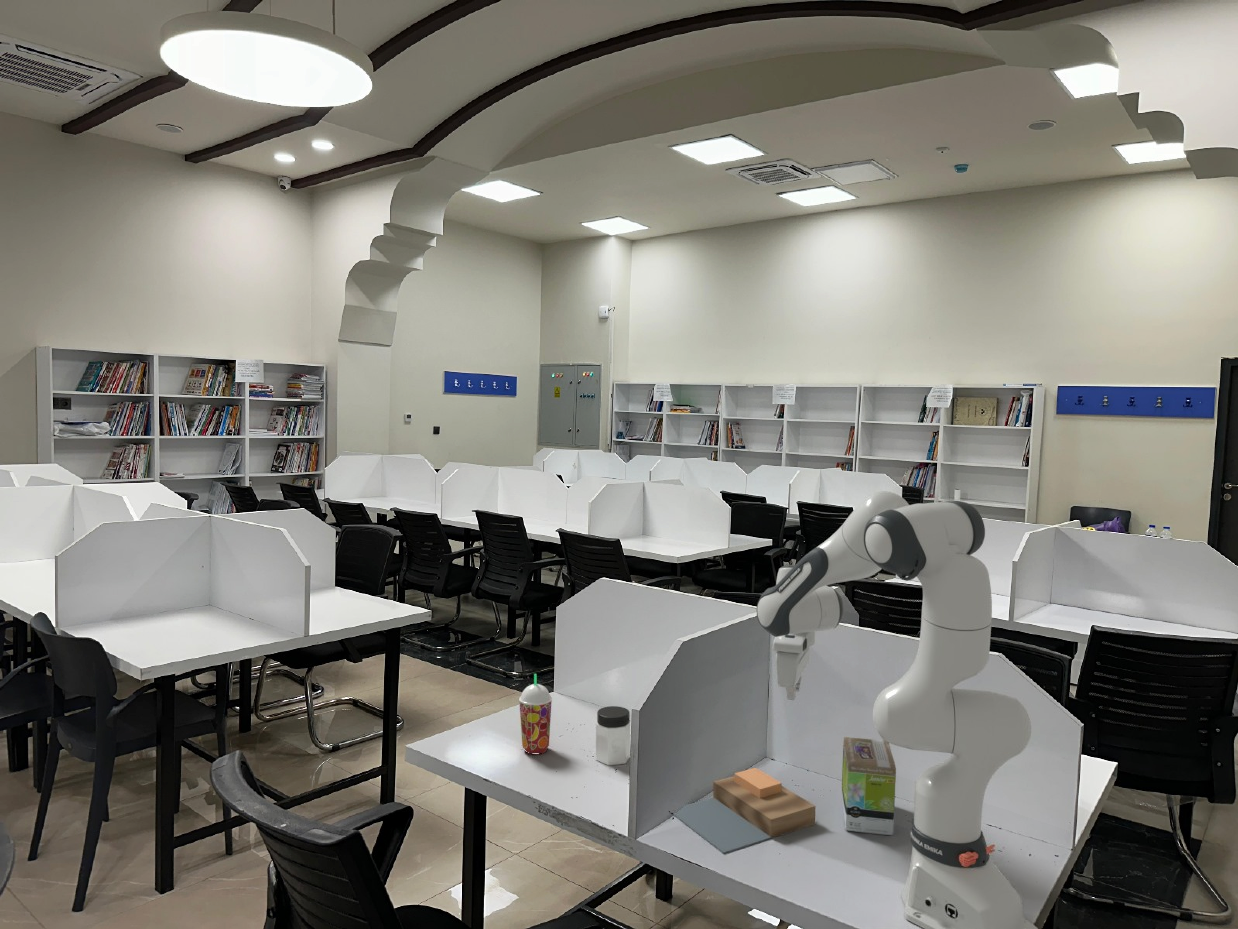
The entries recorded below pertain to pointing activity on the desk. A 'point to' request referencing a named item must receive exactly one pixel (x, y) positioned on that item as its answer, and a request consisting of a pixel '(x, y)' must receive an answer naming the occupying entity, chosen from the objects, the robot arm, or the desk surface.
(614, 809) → the desk surface
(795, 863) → the desk surface
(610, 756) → the jar
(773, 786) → the orange rectangular block
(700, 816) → the mat
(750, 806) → the board
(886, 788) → the tea box
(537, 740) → the smoothie
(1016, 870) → the desk surface
